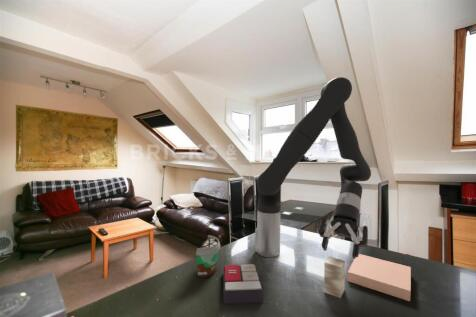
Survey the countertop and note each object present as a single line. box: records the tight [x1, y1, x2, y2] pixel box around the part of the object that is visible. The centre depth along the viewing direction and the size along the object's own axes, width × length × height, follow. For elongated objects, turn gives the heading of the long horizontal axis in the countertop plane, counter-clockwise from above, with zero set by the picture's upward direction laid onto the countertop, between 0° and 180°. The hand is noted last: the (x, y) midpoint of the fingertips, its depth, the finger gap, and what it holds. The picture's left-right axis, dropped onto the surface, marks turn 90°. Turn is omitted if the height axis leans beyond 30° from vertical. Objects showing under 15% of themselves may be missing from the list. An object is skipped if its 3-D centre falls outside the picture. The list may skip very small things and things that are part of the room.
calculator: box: [223, 263, 264, 304], centre depth 70 cm, size 11×4×15 cm
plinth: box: [347, 253, 412, 302], centre depth 74 cm, size 16×16×3 cm
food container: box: [195, 234, 221, 278], centre depth 79 cm, size 12×6×10 cm, turn 168°
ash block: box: [323, 256, 346, 299], centre depth 67 cm, size 5×5×9 cm
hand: (338, 253), depth 70 cm, fingers open, 8 cm apart
